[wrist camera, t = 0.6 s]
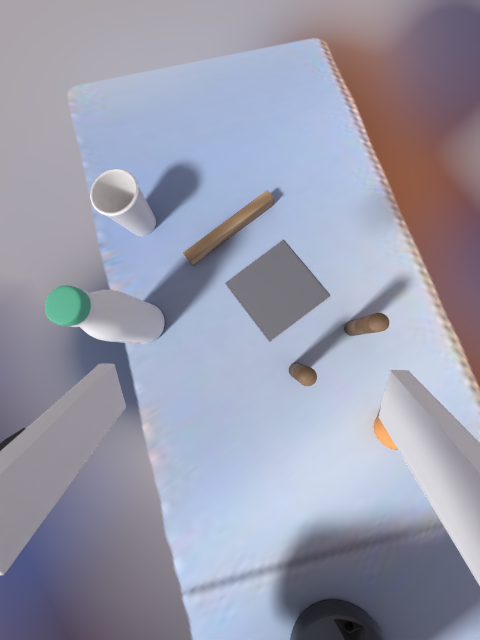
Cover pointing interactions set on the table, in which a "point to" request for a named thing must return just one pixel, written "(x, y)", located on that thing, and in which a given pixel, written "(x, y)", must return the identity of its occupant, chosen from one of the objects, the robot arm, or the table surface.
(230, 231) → the wall
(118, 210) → the dixie cup
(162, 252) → the table surface
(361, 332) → the post
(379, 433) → the ball
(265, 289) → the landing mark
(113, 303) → the milk bottle
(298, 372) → the post
